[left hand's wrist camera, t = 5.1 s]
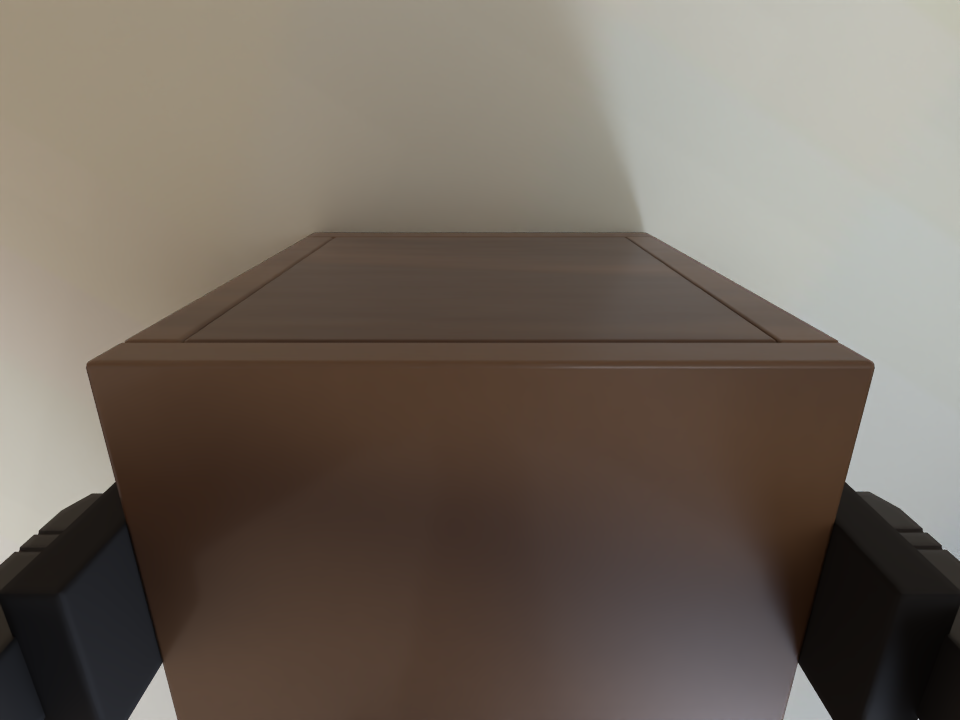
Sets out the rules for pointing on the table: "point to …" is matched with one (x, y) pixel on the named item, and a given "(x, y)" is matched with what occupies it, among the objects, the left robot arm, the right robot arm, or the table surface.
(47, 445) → the table surface
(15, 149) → the table surface
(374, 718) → the cabinet
